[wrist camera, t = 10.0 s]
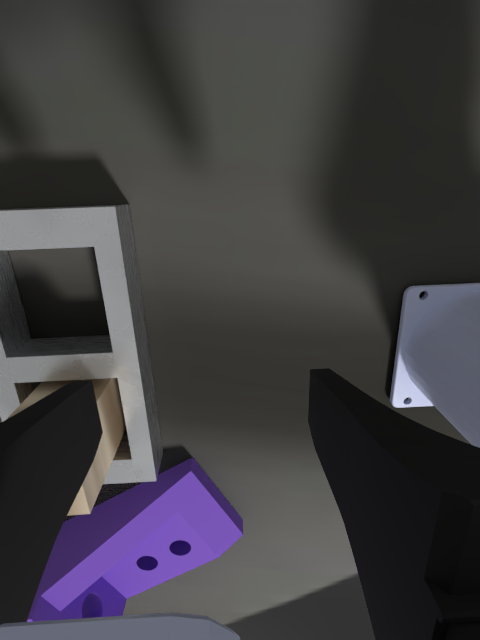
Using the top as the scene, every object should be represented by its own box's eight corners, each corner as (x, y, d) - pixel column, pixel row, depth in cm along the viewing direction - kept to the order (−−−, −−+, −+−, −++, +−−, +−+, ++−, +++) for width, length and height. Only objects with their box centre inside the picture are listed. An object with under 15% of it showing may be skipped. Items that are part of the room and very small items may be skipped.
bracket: (113, 575, 28) (80, 688, 22) (56, 523, 26) (1, 632, 20) (242, 515, 27) (247, 619, 20) (192, 454, 24) (181, 548, 18)
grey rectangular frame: (129, 204, 18) (115, 206, 16) (163, 452, 24) (156, 481, 22) (-28, 210, 18) (-66, 213, 16) (43, 459, 24) (23, 488, 21)
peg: (118, 366, 22) (71, 444, 15) (128, 421, 23) (90, 513, 16) (52, 371, 22) (-24, 450, 15) (67, 425, 23) (3, 520, 16)
